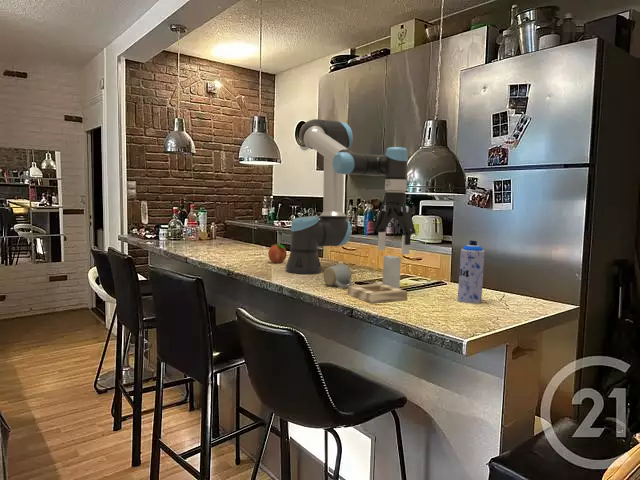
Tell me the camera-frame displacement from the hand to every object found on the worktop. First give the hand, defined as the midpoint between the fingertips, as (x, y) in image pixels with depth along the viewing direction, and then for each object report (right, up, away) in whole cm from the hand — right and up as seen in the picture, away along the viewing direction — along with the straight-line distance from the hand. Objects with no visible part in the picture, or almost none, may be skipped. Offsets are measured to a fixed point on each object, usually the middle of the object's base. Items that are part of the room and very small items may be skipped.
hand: (392, 251), depth 168 cm
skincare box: (-1, -14, +2) cm, 14 cm away
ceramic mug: (-19, -13, +6) cm, 24 cm away
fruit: (-46, -7, +56) cm, 73 cm away
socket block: (-7, -15, -11) cm, 20 cm away
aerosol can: (+23, -16, -12) cm, 31 cm away
